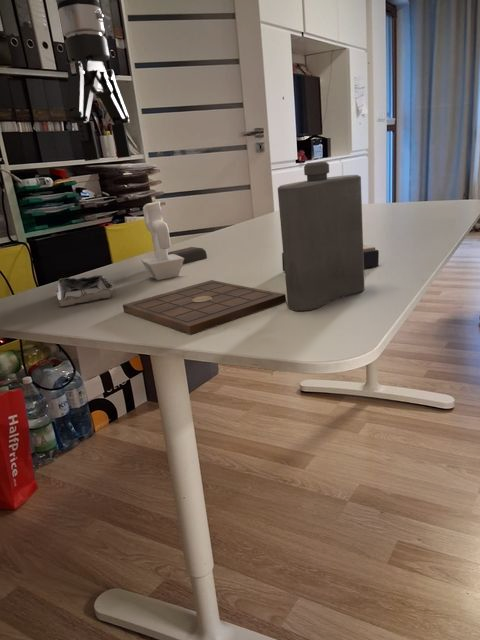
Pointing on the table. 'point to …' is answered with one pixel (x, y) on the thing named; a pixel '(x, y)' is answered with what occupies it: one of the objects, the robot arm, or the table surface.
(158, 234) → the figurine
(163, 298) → the board
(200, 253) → the usb drive
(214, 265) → the table surface
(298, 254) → the flask
